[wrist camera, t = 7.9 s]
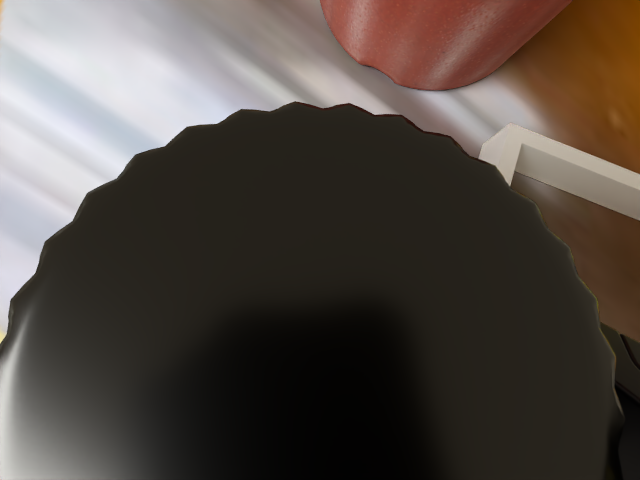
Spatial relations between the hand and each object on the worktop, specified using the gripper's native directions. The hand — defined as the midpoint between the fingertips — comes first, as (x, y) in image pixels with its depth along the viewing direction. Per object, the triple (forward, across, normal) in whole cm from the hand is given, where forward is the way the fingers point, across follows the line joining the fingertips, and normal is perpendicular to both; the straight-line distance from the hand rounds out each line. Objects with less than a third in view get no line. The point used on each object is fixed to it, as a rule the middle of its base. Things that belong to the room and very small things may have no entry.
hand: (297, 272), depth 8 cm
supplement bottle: (+4, 0, +6) cm, 7 cm away
